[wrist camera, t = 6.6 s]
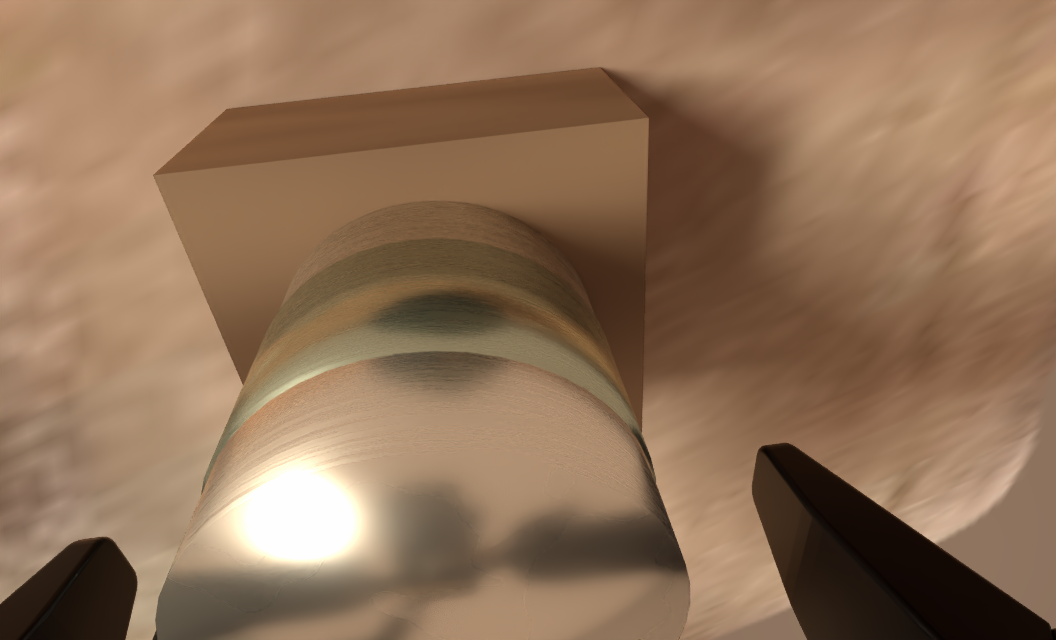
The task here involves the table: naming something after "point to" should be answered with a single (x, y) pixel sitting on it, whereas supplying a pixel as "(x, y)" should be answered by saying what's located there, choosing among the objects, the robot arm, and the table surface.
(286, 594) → the tin
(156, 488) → the table surface
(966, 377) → the table surface
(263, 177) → the block
